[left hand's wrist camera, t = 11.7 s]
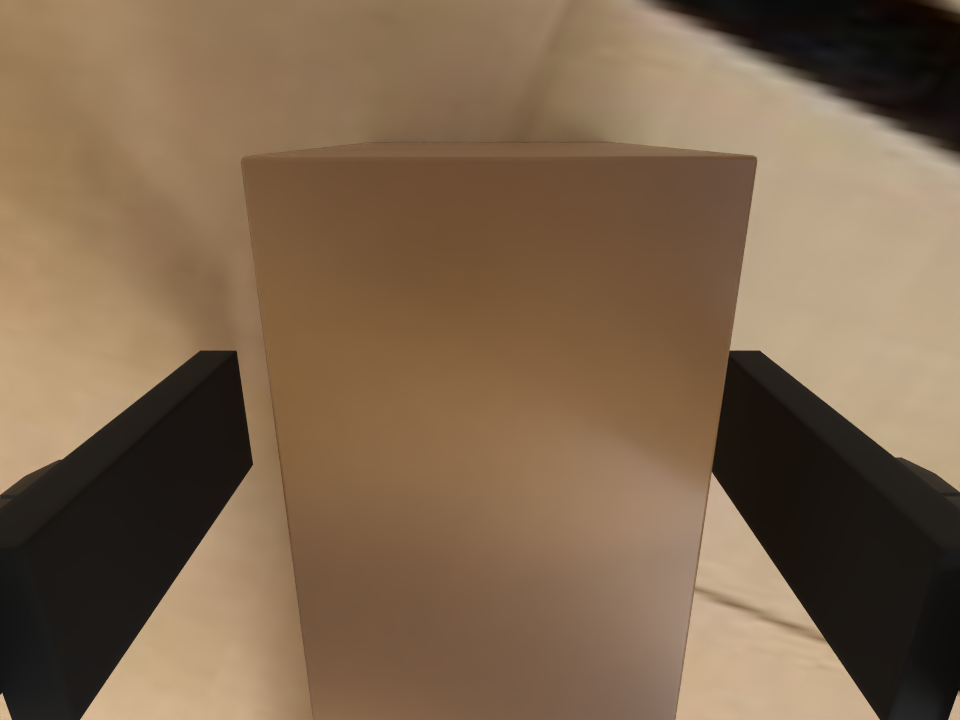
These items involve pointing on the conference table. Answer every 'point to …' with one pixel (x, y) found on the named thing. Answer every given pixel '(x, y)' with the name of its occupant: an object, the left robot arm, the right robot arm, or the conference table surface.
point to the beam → (496, 415)
